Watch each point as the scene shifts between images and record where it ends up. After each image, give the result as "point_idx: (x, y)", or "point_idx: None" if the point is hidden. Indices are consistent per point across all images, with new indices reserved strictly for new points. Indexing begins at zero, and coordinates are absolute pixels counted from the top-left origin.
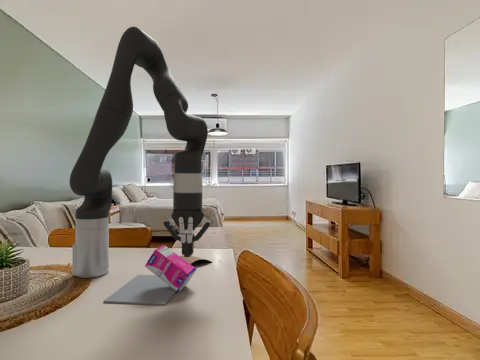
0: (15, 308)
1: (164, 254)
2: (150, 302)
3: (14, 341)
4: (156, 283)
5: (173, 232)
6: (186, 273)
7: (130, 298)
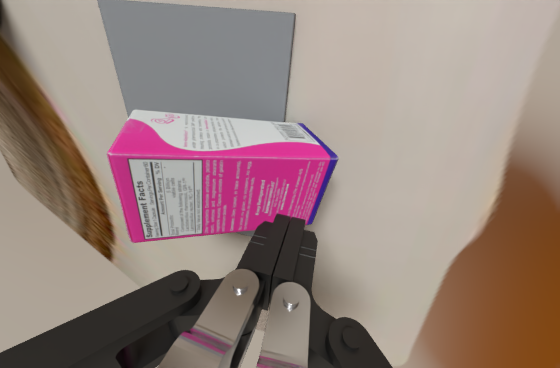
0: (56, 208)
1: (183, 227)
2: (241, 232)
3: (142, 284)
4: (205, 112)
5: (138, 365)
6: None
7: None
